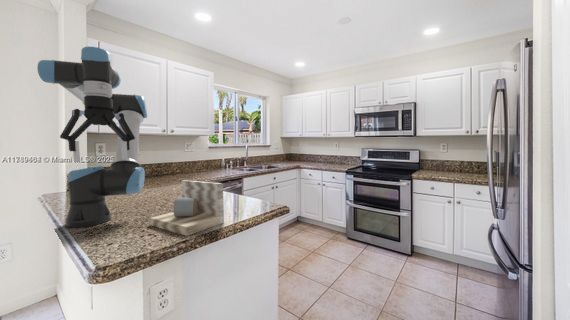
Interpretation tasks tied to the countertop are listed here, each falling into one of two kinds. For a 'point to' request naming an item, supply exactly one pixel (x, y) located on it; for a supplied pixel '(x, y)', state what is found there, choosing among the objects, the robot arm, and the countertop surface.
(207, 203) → the wall shelf
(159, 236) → the countertop surface
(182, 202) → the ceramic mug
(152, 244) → the countertop surface
